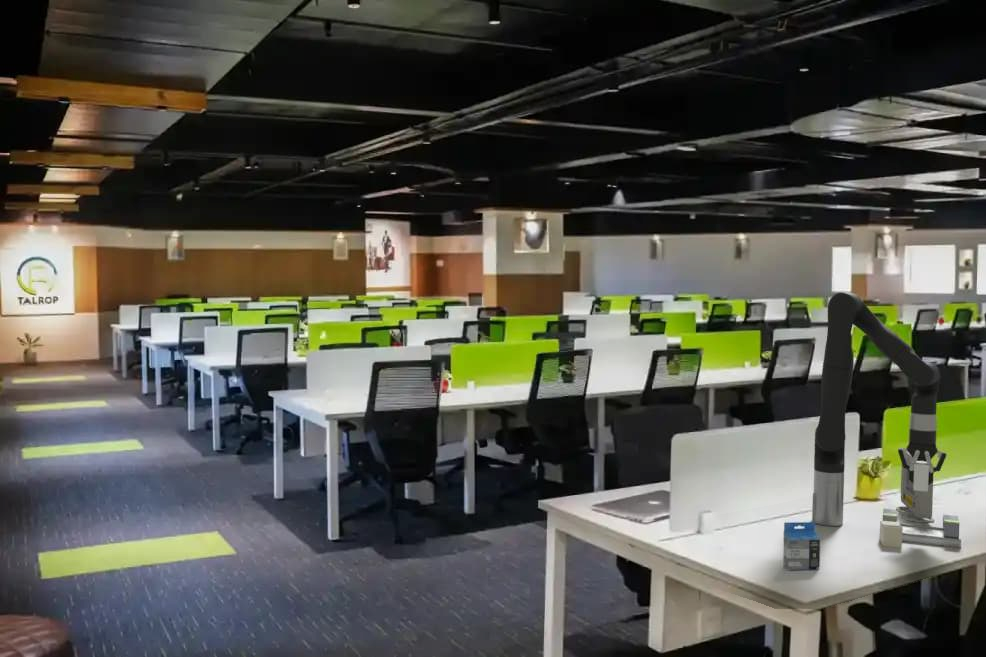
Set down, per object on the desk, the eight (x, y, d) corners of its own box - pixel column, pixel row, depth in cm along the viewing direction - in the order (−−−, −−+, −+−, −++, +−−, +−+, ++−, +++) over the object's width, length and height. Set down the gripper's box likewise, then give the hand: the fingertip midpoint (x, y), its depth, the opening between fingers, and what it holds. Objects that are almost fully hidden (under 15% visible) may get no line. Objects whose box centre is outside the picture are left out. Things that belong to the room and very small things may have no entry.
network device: (939, 525, 291) (941, 464, 290) (910, 524, 293) (912, 463, 292) (918, 506, 316) (920, 450, 315) (892, 505, 318) (893, 449, 317)
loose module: (913, 490, 274) (914, 464, 274) (913, 486, 280) (914, 460, 279) (928, 491, 272) (929, 465, 272) (927, 487, 278) (928, 462, 278)
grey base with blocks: (880, 538, 275) (880, 515, 275) (881, 528, 287) (881, 506, 287) (960, 547, 266) (961, 524, 266) (958, 536, 278) (959, 514, 278)
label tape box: (788, 570, 243) (789, 525, 243) (782, 566, 247) (783, 521, 247) (819, 570, 244) (821, 525, 243) (813, 565, 248) (815, 521, 247)
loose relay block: (883, 546, 267) (884, 525, 267) (879, 540, 274) (880, 520, 274) (901, 547, 266) (902, 527, 266) (897, 541, 273) (898, 521, 273)
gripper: (897, 427, 275) (895, 483, 275) (949, 431, 269) (947, 488, 270) (897, 424, 281) (895, 478, 282) (948, 428, 275) (946, 483, 276)
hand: (920, 483), depth 276 cm, fingers closed on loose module, 4 cm apart
